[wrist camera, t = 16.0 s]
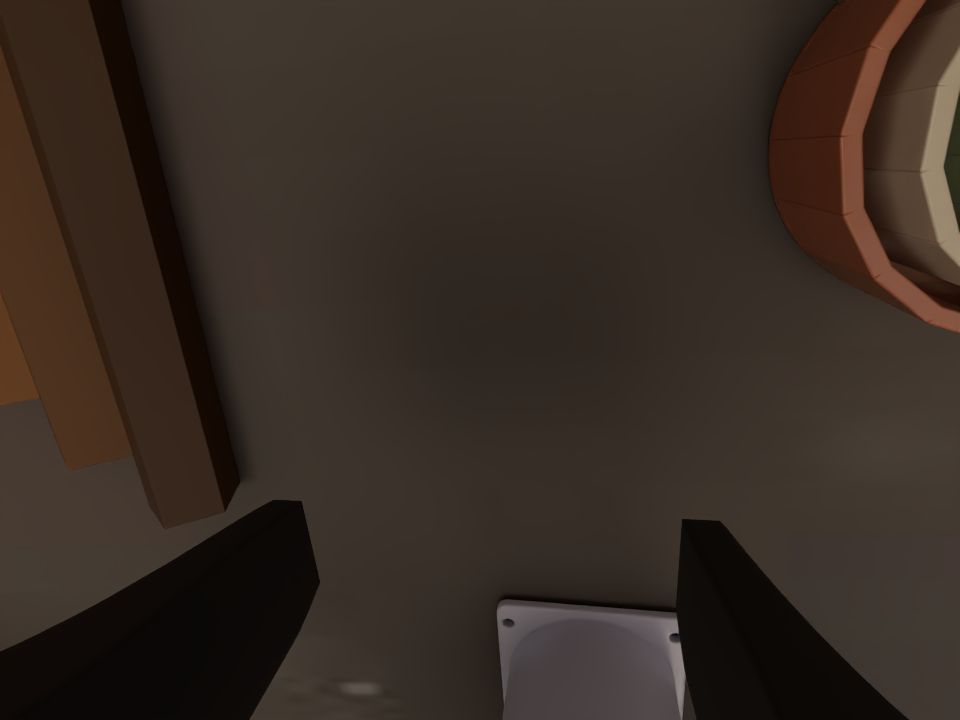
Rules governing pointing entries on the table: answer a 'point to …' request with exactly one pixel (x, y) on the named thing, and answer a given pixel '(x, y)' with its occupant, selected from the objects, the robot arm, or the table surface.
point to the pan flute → (99, 263)
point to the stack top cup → (916, 145)
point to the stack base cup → (846, 157)
